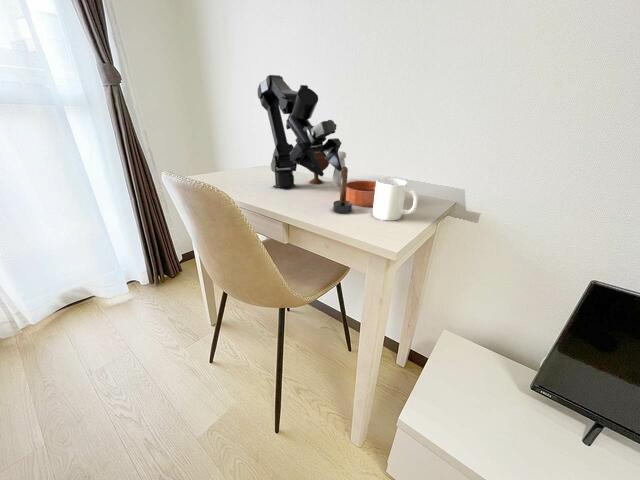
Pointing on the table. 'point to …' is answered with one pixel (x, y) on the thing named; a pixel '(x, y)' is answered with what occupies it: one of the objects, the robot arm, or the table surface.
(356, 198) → the bowl
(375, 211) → the cup
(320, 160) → the ice cream bowl
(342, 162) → the salt shaker
